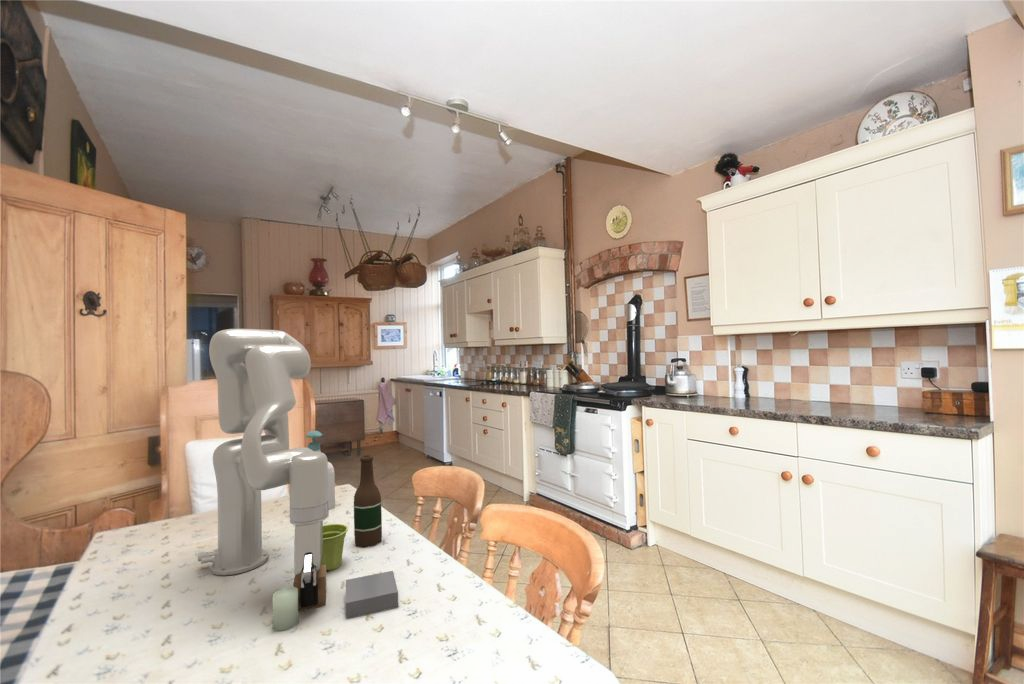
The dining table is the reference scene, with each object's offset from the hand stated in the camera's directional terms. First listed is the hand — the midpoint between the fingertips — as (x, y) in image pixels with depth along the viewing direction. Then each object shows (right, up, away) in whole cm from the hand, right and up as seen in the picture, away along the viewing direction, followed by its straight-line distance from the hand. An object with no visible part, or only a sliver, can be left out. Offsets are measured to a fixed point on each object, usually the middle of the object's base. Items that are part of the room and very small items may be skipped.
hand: (310, 594), depth 94 cm
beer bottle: (+2, -3, +30) cm, 30 cm away
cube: (0, -2, 0) cm, 2 cm away
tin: (-1, -1, -8) cm, 8 cm away
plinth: (+13, -1, 0) cm, 13 cm away
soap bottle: (-24, -5, +57) cm, 62 cm away
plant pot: (-3, -2, +16) cm, 16 cm away
